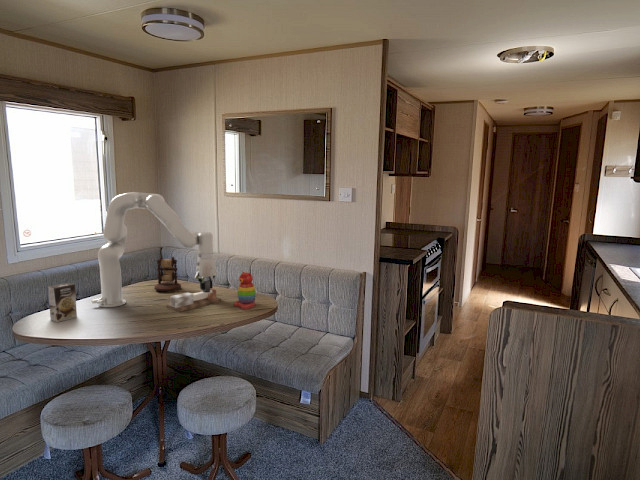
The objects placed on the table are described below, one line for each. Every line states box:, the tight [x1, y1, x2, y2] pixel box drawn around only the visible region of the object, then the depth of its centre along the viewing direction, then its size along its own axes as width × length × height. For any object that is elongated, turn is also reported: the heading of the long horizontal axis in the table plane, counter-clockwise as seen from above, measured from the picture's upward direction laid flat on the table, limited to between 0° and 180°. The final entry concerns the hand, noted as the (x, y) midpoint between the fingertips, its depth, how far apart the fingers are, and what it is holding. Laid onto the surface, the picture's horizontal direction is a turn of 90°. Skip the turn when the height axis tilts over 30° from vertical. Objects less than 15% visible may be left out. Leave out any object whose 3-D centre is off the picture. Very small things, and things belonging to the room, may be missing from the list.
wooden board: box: [165, 288, 222, 313], centre depth 224 cm, size 26×12×6 cm, turn 140°
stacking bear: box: [233, 271, 257, 310], centre depth 222 cm, size 11×10×18 cm
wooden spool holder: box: [154, 256, 182, 293], centre depth 248 cm, size 15×15×20 cm
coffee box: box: [48, 282, 78, 323], centre depth 197 cm, size 9×6×16 cm
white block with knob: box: [192, 279, 213, 301], centre depth 226 cm, size 14×4×9 cm, turn 140°
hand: (206, 288), depth 229 cm, fingers closed on white block with knob, 4 cm apart
